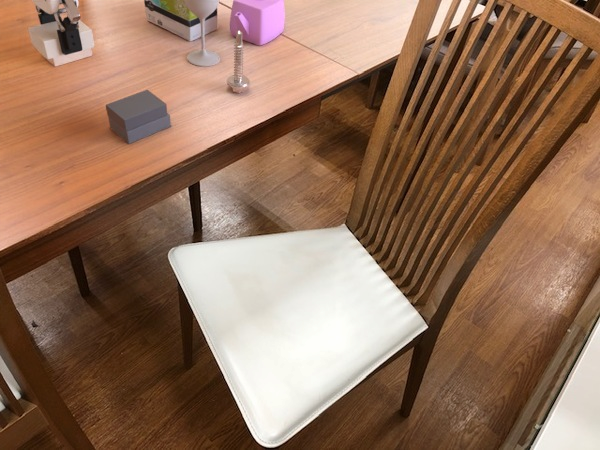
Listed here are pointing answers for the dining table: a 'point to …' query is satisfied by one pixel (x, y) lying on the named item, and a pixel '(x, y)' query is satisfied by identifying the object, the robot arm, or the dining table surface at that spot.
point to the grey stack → (138, 116)
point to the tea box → (178, 18)
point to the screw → (238, 67)
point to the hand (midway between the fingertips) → (63, 43)
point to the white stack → (70, 57)
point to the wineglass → (202, 32)
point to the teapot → (257, 20)
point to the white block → (56, 38)
